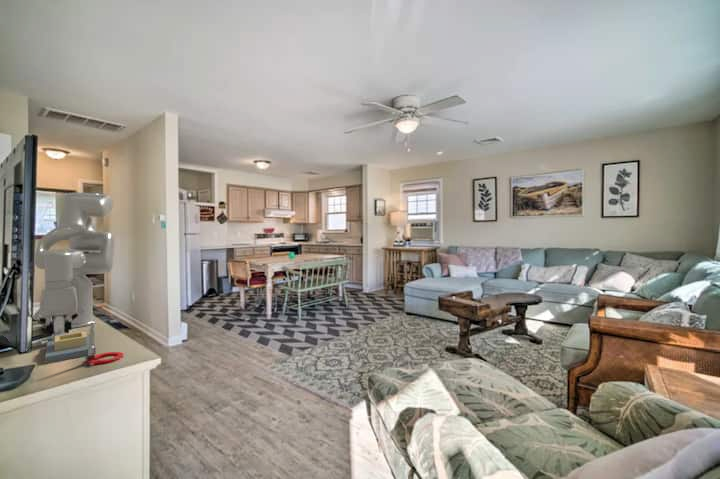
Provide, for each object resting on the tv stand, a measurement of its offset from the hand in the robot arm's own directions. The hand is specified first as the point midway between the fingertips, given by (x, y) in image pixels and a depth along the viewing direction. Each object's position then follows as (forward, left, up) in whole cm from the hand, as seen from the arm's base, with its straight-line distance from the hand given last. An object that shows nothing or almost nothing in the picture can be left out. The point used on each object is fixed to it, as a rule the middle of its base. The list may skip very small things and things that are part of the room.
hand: (59, 333), depth 116 cm
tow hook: (+31, +11, -4) cm, 33 cm away
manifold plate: (+14, +3, -3) cm, 15 cm away
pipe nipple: (0, 0, -3) cm, 3 cm away
